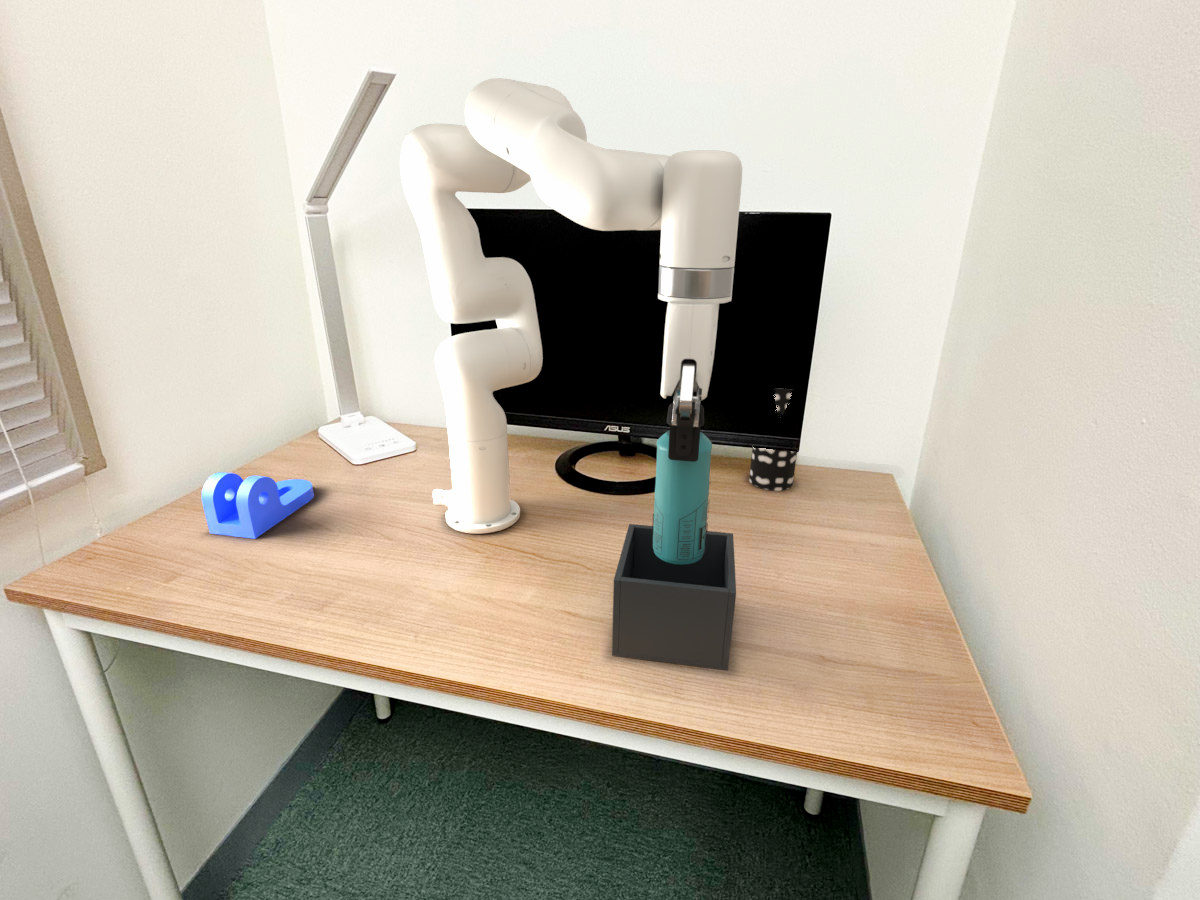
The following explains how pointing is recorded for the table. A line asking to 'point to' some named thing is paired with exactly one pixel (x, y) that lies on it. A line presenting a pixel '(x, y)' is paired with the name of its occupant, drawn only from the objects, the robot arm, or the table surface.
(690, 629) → the open box
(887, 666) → the table surface
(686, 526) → the beverage bottle
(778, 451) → the white-spotted black cylinder
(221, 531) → the bracket
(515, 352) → the robot arm
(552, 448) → the table surface
